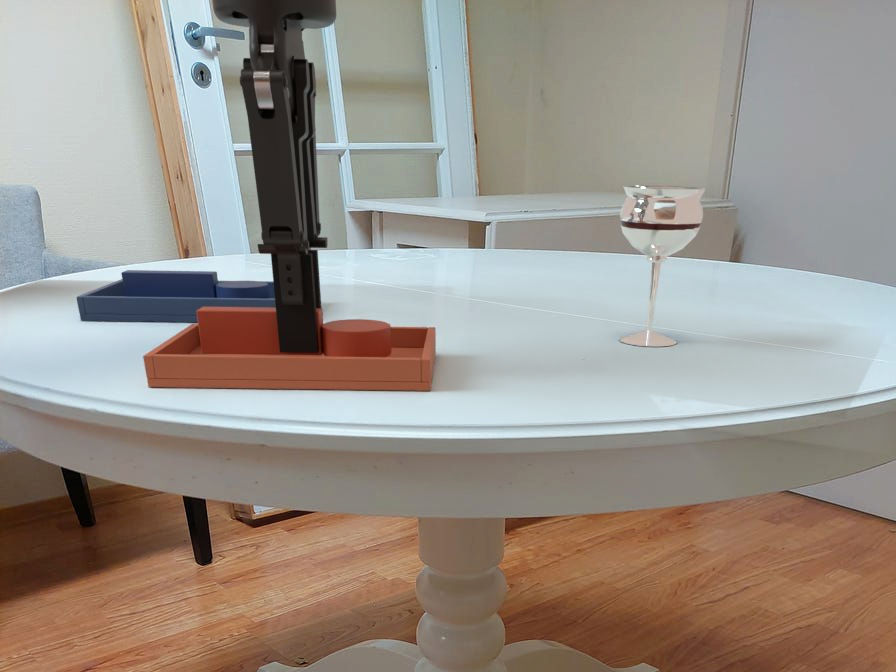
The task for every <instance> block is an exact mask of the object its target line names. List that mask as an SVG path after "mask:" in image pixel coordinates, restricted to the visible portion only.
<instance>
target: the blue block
mask: <svg viewBox="0 0 896 672" xmlns="http://www.w3.org/2000/svg"><path fill="white" fill-rule="evenodd" d="M120 275H121V279H122V280H123V286H124V292H125V297H189V298H255V299H269V288H268V283H266V282H260V281H259V280H226V281H227V282H220V283H218V281H219V279H218V272H217V271H213V270H212V271H207V270H149V269H148V270H147V269H146V270H145V269H126V270H124V271H122V272H121V273H120Z"/></svg>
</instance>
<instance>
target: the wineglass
mask: <svg viewBox="0 0 896 672" xmlns="http://www.w3.org/2000/svg"><path fill="white" fill-rule="evenodd" d="M622 187H623V189H624V192H625V193H624V194H625V200H624V202H623V204H622V205H621V208H620V211H619V224H620V228H621V232H622V235H623V236H624V237H625V238H626V240H627V241H628V242H629V243H630V245H631V247H633V248H634V249H636V250H637V251H639V252H641V253H642V254H644V255H645V256H646V260H647V261H648V262H649V263H650V264H651V265H650V279H649V295H648V308H647V309H648V312H647V323H646V324H647V325H646V330H644V331H641V332H637V333H633V334H630V335H626V336H623V337H620V338H619V339H618V340H619V341H620V342H621V343H623V344H626V345H631V346H638V347H654V348H655V347H668V346H669V347H670V346H674V345H676V344H677V342H678V341H676V340H675V339H673V338H670V337H668V336H666V335H663V334H660V333H657V332H656V331H653V330H652V328H653V321H654V316H655V315H654V314H655V308H656V300H657V294H658V287H659V280H660V274H661V267H662V263H665V262H666V261H667V260H668V258H667V257H669V256H671V255H673V254H675V253H677V252H680V251H681V250H684V248H685V247H686V246H687V245H689V244H690V242H691V241H692V240H694V238H695V237H696V236H697V235H698V233H699V231H700V229H701V226H702V224H703V219H704V207H703V205H702V203H701V198H702V197H703V196H704V193H705V192H706V189H707V188H706V187H700V186H699V187H697V186H696V187H695V186H679V185H678V186H677V185H623V186H622Z"/></svg>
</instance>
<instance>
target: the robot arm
mask: <svg viewBox="0 0 896 672" xmlns="http://www.w3.org/2000/svg"><path fill="white" fill-rule="evenodd" d="M211 1H212V2H211V3H212V10H213V13H214V15H215V17H216V18H217V19H218V20H219V21H221V22H222V23H224V24H227V25H230V26H231V25H232V26H237V27H243V28H248V38H249V39H248V41H249V42H248V43H249V44H248V46H249V47H248V49H249V57H243V59H242V69H240V75H239V85H240V87H241V90H242V95H243V98H244V105H245V110H246V111H245V112H246V114H247V115H246V116H247V122H248V132H249V138H250V139H249V140H250V147H251V148H250V149H251V156H252V162H253V170H254V172H253V173H254V179H255V186H256V195H257V196H256V197H257V202H258V210H259V216H260V217H259V218H260V228H261V232H260V235H261V236H260V237H261V240H262V243H257V250H258V253H259V254H260V255H270V259H271V271H272V281H273V283H274V293H275V304H276V315H277V326H278V337H279V348H280V352H288V353H318V352H319V343H318V329H317V315H316V308H321V309H322V310H323V308H322V296H321V295H322V293H321V282H320V281H321V280H320V266H319V253H318V252H319V251H318V249H327V248H328V245H329V244H328V242H329V241H328V237H326V236H325V237H323V236H322V237H321V236H320V235H321V231H322V224H321V222H320V221H321V219H320V201H319V180H318V179H319V178H318V162H317V161H318V158H317V137H316V129H317V128H316V97H317V80H316V68H315V64H314V62H311V61H310V62H309V60H308V58H306V55H305V46H304V41H303V31H304V30H306V29H313V30H317V29H325V28H328V27H331V26H332V25H333V24H334V23H335V21H336V20H337V3H336V2H337V0H211ZM319 236H320V237H319Z"/></svg>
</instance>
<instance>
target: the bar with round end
mask: <svg viewBox="0 0 896 672" xmlns="http://www.w3.org/2000/svg"><path fill="white" fill-rule="evenodd" d="M321 308H322V307H321ZM321 308H316V315H317V329H318V343H319V352H318V353H288V352H280V348H279V337H278V326H277V315H276V308H270V307H202V308H200V309H198V310H197V311H196V312H197V320H198V322H197V324H198V327H199V335H200V342H201V350H202V353H203V354H268V355H322V353H323V354H324V355H325V356H327V357H387V356H389V355H390V354H391V352H392V351H391V327H392V326H391V323H389V322H386V321H382V320H378V319H376V320H375V319H364V318H363V319H362V318H361V319H360V318H359V319H357V318H355V319H354V318H353V319H351V318H350V319H337V320H331V321H327V322H324V316H323V315H324V314H323V308H322V309H321Z"/></svg>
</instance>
